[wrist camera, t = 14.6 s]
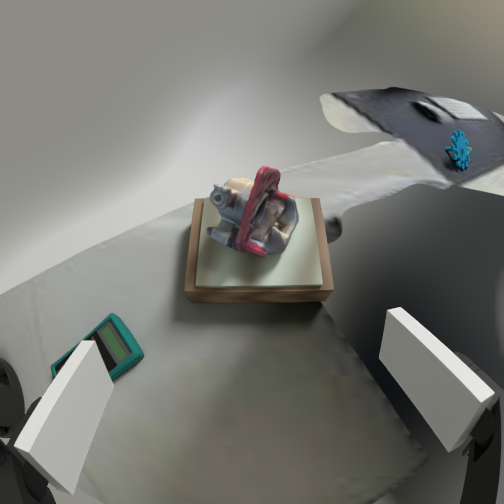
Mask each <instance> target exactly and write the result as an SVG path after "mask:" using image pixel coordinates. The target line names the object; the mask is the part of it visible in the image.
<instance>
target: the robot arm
mask: <svg viewBox="0 0 504 504" xmlns="http://www.w3.org/2000/svg"><path fill="white" fill-rule="evenodd" d="M379 359H380V360H381V361H382V363H383V364H384V365H385V366H386V368H387V369H388V370H389V372H390V373H391V374H392V376H393V377H394V378H395V380H396V381H397V382H398V383H399V385H400V386H401V387H402V389H403V390H404V391H405V393H406V394H407V395H408V397H409V398H410V400H411V401H412V402H413V404H414V405H415V406H416V408H417V409H418V410H419V412H420V413H421V414H422V416H423V417H424V419H425V420H426V421H427V422H428V424H429V425H430V427H431V428H432V430H433V431H434V432H435V434H436V435H437V437H438V438H439V439H440V441H441V442H442V444H443V445H444V447H445V448H446V449H447V451H448V452H450V451H452V450H454V449H455V448H457V447H458V446H460V445H462V444H463V443H464V441H465V440H466V439H467V437H468V436H469V434H470V435H471V436H472V437H473V439H472V440H471V441H470V443H469V444H468V445H467V447H466V448H465V450H464V451H463V453H462V455H463V456H464V455H465V454H466V452H467V451H468V450H469V453H468V456H469V458H468V465H467V471H466V477H465V483H464V487H463V492H462V496H461V501H460V504H504V390H502V389H501V388H500V387H499V386H498V385H497V384H496V383H495V382H494V381H493V380H492V379H491V378H490V377H489V376H487V375H486V374H485V373H484V372H483V371H482V370H480V368H479V367H478V366H477V365H474V363H473V362H472V361H471V360H470V359H469V358H468V357H467V356H465V355H463V354H461V353H459V352H454V353H453V352H451V351H450V350H449V349H448V348H447V347H446V346H445V345H444V344H443V343H441V342H440V341H439V340H438V339H437V338H436V337H435V336H433V335H432V334H431V333H430V332H429V331H428V330H427V329H426V328H424V327H423V326H422V325H421V324H420V323H419V322H417V321H416V320H415V319H414V318H413V317H412V316H410V315H409V314H408V313H407V312H406V311H405V310H403V309H402V308H401V307H399V308H394V309H390V310H387V315H386V322H385V328H384V334H383V339H382V345H381V350H380V355H379ZM113 388H114V384H113V382H112V380H111V378H110V376H109V373H108V371H107V369H106V367H105V364H104V362H103V359H102V357H101V355H100V352H99V350H98V347H97V344H96V342H95V341H84V340H82V341H81V342H80V344H79V345H78V346H77V348H76V349H75V350H74V352H73V353H72V355H71V356H70V357H69V359H68V360H67V362H66V363H65V364H64V366H63V367H62V369H61V370H60V372H59V373H58V374H57V376H56V377H55V379H54V380H53V382H52V383H51V385H50V386H49V388H48V389H47V391H46V392H45V394H44V395H43V397H39V398H38V399H37V400H36V401H34V402H33V403H32V404H31V406H30V407H29V409H28V410H27V412H26V414H25V415H24V411H25V410H24V399H23V393H22V389H21V385H20V382H19V380H18V377H17V375H16V373H15V371H14V370H13V368H12V367H11V365H10V364H9V363H8V362H7V361H6V360H4V359H2V358H0V437H1V438H10V440H9V442H8V444H7V445H5V444H4V443H3V441H2V440H1V439H0V504H56V502H55V500H54V498H53V495H52V493H51V491H50V489H49V488H48V487H47V485H48V483H51V484H52V485H53V486H54V487H55V488H56V489H58V490H60V491H63V492H66V493H68V494H71V495H73V494H74V491H75V488H76V485H77V482H78V479H79V476H80V473H81V470H82V467H83V464H84V461H85V459H86V456H87V453H88V450H89V448H90V445H91V442H92V440H93V437H94V434H95V432H96V429H97V427H98V424H99V422H100V419H101V417H102V414H103V412H104V410H105V407H106V405H107V402H108V400H109V398H110V395H111V393H112V391H113Z"/></svg>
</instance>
